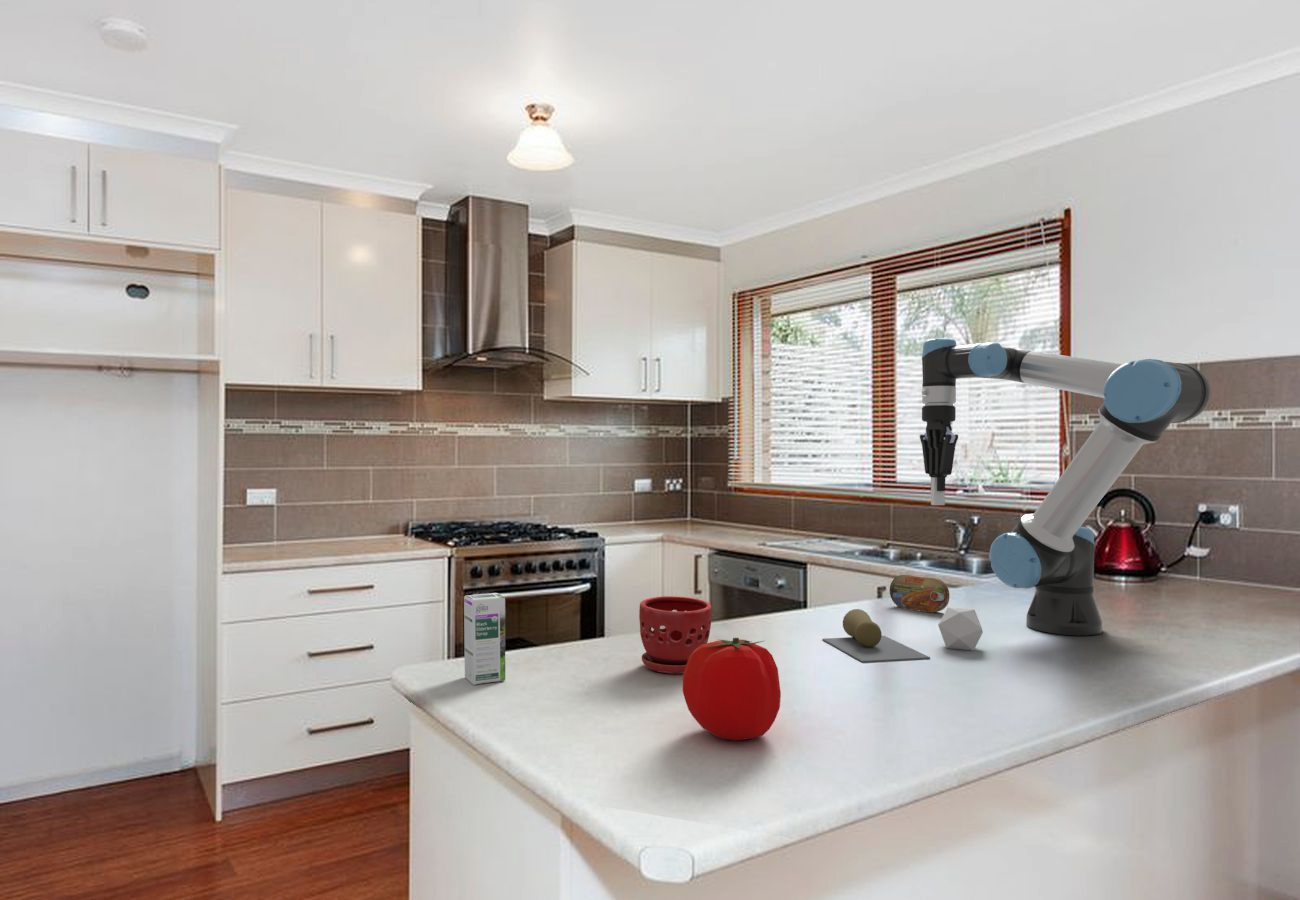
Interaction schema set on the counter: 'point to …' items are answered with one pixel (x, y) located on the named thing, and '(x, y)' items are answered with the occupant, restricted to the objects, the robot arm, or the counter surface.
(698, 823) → the counter surface
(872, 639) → the cork
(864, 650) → the mat
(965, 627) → the die
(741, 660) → the tomato
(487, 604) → the syrup box
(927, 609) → the tin
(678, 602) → the plant pot
